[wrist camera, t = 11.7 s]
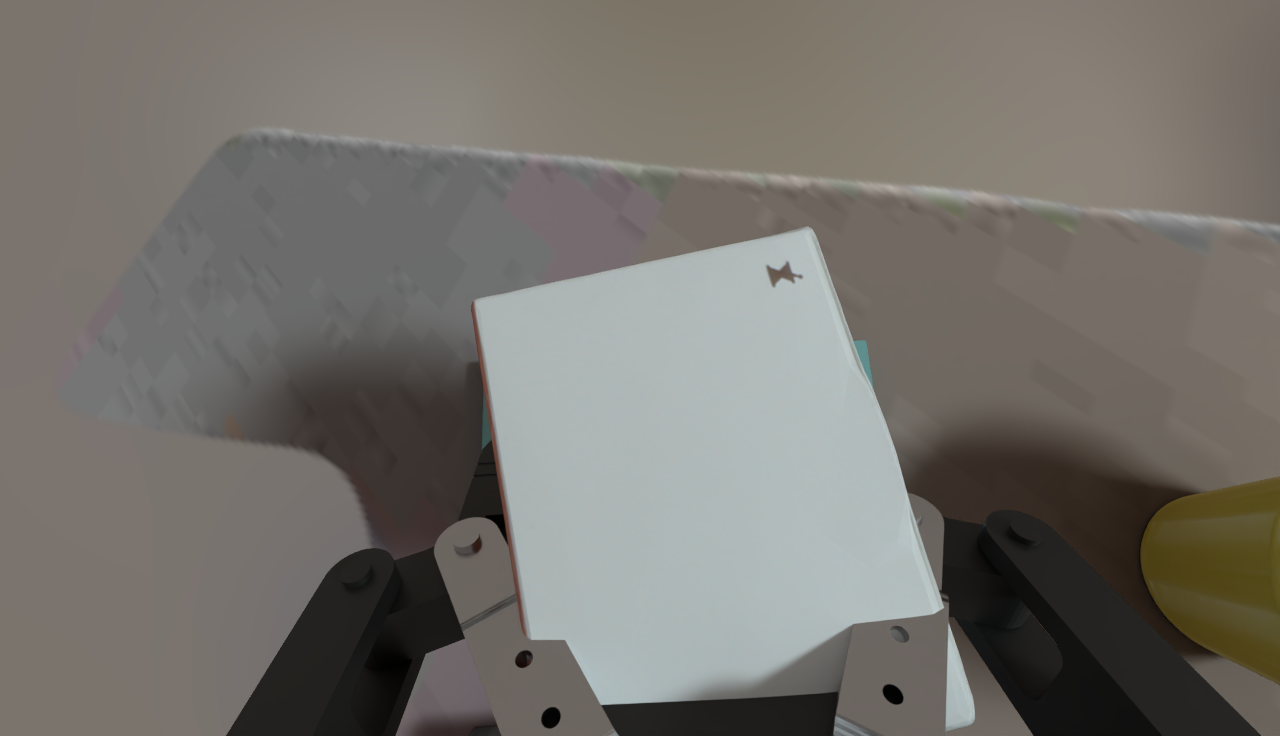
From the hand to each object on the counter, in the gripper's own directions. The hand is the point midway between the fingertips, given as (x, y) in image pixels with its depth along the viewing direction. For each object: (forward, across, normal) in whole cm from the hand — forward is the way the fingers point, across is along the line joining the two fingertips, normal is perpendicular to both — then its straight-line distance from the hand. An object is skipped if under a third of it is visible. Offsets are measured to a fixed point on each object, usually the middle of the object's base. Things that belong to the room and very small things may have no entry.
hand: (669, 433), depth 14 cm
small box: (+4, 0, +6) cm, 7 cm away
